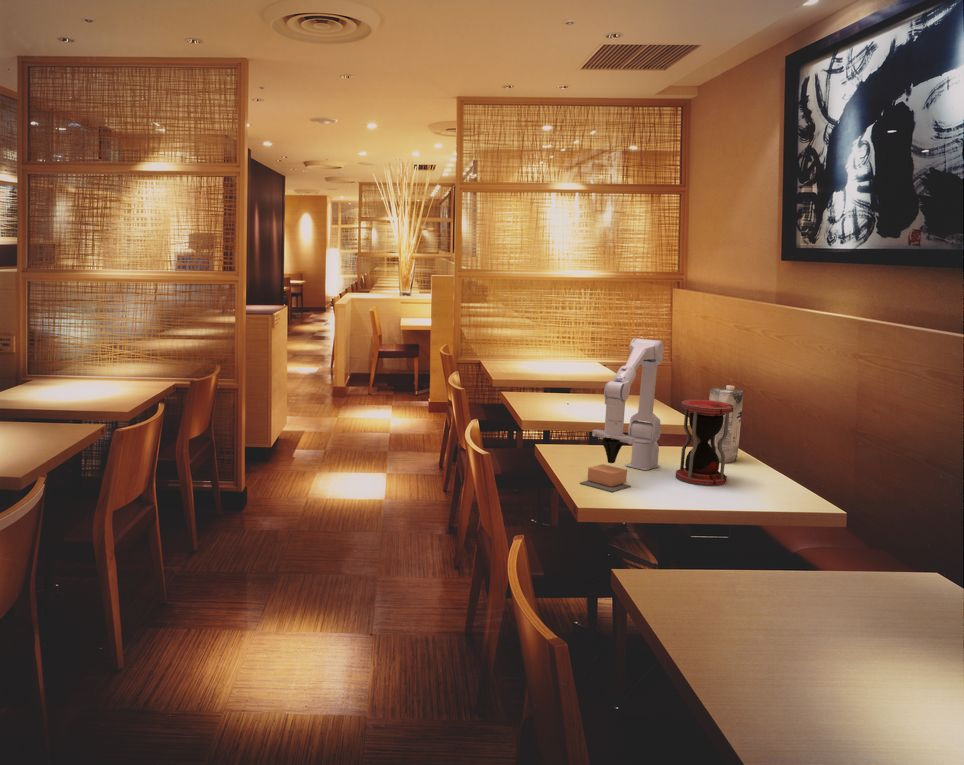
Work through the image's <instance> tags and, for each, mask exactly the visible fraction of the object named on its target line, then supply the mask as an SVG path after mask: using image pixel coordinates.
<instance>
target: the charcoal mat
mask: <svg viewBox="0 0 964 765" xmlns="http://www.w3.org/2000/svg"><path fill="white" fill-rule="evenodd" d="M579 485H583V486H586V487H590V488H594V489H598V490H602V491H605V492H609V493H615V492H618V491H621V490H625V489H629V488H631V487H632V486H631V485H630V484H627V483H623V484H620V485H616V486H613V487H609V486H605V485H601V484H598V483H594V482H590V481H588V479H587V480H584V481H581V482H579Z"/></svg>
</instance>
